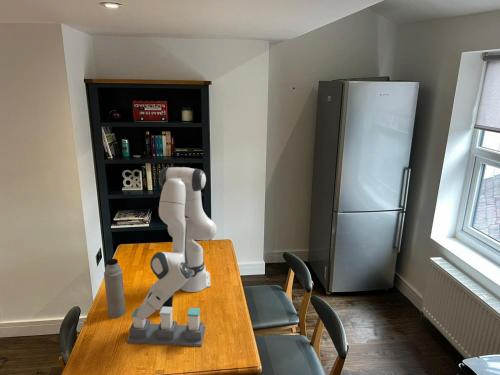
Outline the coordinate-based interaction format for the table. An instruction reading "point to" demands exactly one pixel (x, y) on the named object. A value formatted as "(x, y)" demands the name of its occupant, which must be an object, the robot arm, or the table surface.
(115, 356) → the table surface
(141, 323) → the teal key
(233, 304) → the table surface
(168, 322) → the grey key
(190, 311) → the teal key
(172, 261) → the robot arm
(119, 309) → the thermos bottle
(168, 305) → the dixie cup
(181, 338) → the console
